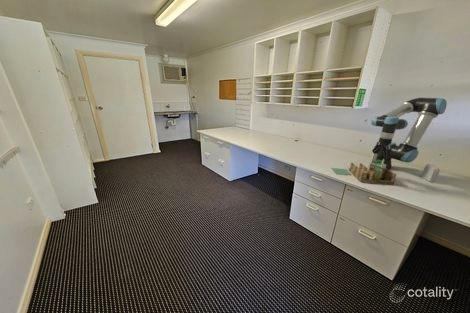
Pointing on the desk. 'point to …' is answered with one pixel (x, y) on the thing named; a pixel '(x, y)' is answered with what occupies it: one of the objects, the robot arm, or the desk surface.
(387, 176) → the rack
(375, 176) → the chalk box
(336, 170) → the cutting mat
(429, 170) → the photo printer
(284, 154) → the desk surface
